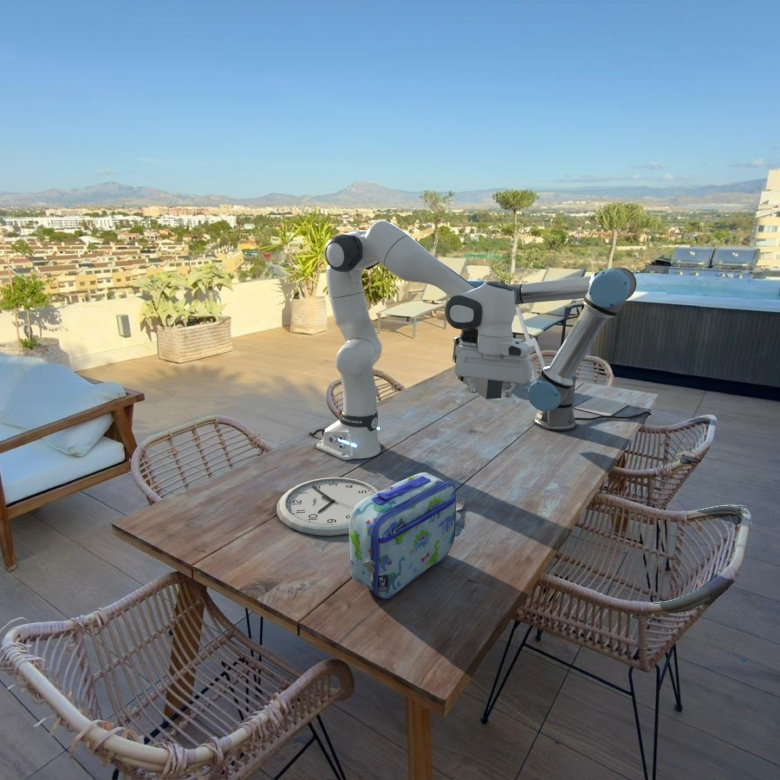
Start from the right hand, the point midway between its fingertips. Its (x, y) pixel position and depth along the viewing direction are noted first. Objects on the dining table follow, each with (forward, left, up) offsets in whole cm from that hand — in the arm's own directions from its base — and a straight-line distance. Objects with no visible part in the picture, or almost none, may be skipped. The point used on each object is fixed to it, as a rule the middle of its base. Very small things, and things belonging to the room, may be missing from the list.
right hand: (467, 379), depth 207 cm
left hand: (-4, +64, +14) cm, 65 cm away
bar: (-4, +9, -1) cm, 10 cm away
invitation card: (-59, -22, -16) cm, 65 cm away
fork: (+4, +78, -16) cm, 79 cm away
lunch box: (+15, +103, -16) cm, 105 cm away
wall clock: (+37, +77, -16) cm, 87 cm away
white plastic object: (-20, -51, -16) cm, 57 cm away
